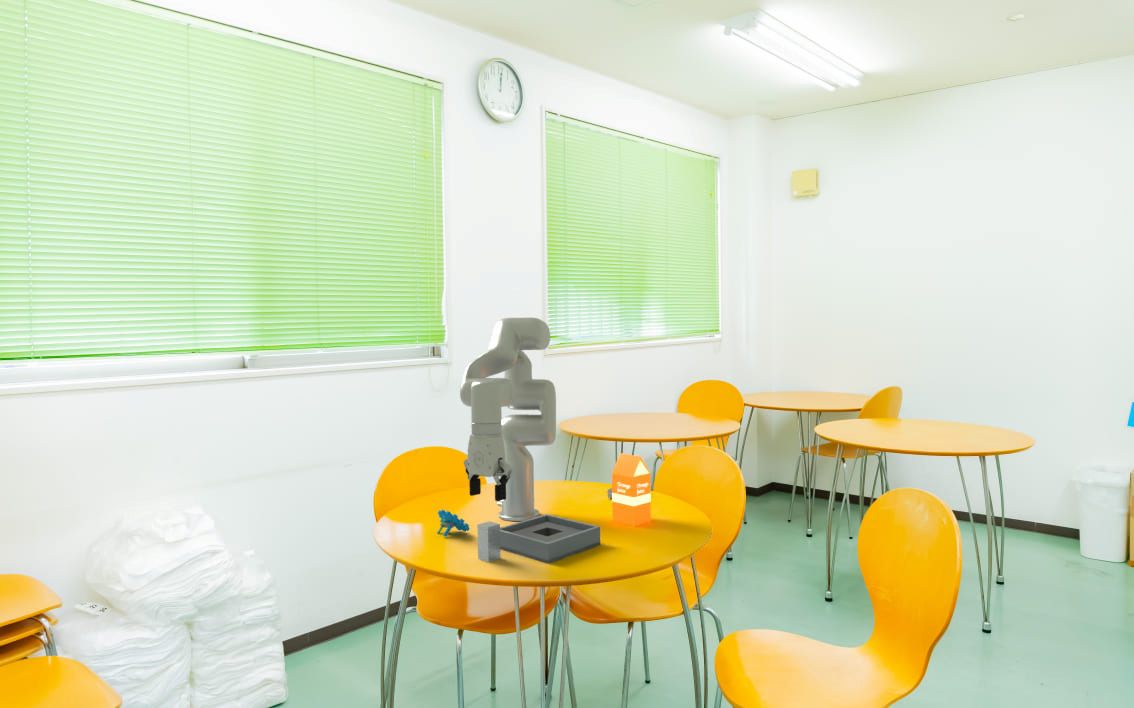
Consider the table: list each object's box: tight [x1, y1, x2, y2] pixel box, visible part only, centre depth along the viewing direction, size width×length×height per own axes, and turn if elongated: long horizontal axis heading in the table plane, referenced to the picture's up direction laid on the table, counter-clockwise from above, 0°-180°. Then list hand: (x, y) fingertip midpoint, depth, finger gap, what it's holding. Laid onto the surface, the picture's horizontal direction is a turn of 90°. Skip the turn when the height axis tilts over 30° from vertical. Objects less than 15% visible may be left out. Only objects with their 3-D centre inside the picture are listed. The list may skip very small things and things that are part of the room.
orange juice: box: [611, 453, 652, 527], centre depth 212 cm, size 8×9×20 cm
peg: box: [477, 521, 502, 563], centre depth 179 cm, size 4×4×9 cm
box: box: [500, 513, 601, 565], centre depth 189 cm, size 20×20×5 cm
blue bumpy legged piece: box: [436, 509, 471, 538], centre depth 200 cm, size 11×6×10 cm
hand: (487, 497), depth 178 cm, fingers open, 9 cm apart
